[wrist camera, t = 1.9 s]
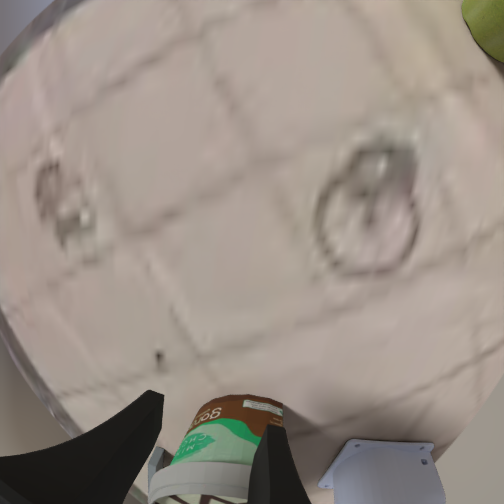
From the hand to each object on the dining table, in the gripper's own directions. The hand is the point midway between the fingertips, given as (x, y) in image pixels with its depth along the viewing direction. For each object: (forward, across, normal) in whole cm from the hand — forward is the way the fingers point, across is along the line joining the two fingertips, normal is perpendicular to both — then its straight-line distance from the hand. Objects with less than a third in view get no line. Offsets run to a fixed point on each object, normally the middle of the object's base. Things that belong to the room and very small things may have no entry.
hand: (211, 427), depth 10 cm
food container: (+11, 0, +10) cm, 15 cm away
